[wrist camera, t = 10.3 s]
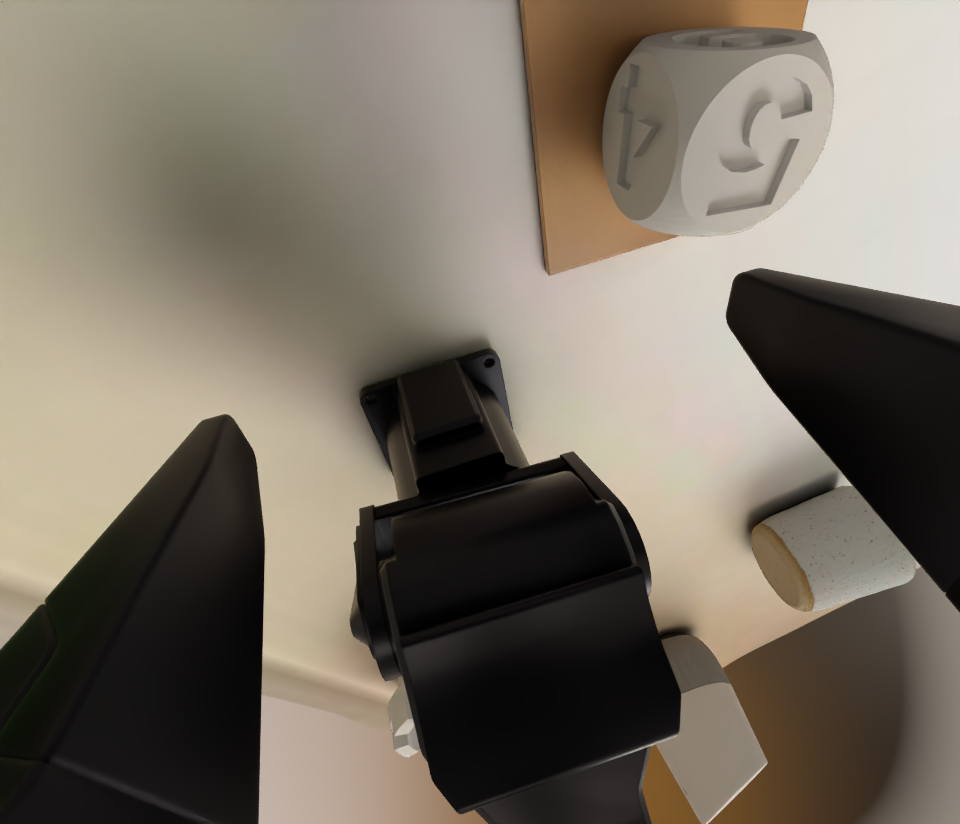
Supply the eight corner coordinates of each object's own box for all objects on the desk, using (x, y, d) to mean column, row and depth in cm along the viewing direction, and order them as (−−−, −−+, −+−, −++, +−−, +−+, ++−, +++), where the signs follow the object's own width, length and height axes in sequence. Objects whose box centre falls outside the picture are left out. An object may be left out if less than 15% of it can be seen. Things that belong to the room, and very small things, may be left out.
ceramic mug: (744, 509, 40) (818, 600, 34) (844, 465, 40) (935, 550, 34) (740, 570, 47) (800, 652, 42) (824, 533, 47) (896, 611, 41)
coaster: (760, 206, 23) (766, 210, 23) (545, 272, 22) (549, 276, 22) (822, -113, 16) (832, -114, 16) (515, -35, 15) (519, -35, 15)
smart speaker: (691, 653, 58) (777, 803, 47) (613, 681, 57) (685, 839, 46) (705, 613, 51) (809, 775, 41) (618, 643, 50) (702, 817, 40)
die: (595, 196, 20) (662, 249, 16) (608, 37, 17) (697, 58, 13) (710, 177, 21) (800, 223, 17) (746, 22, 17) (866, 37, 14)
